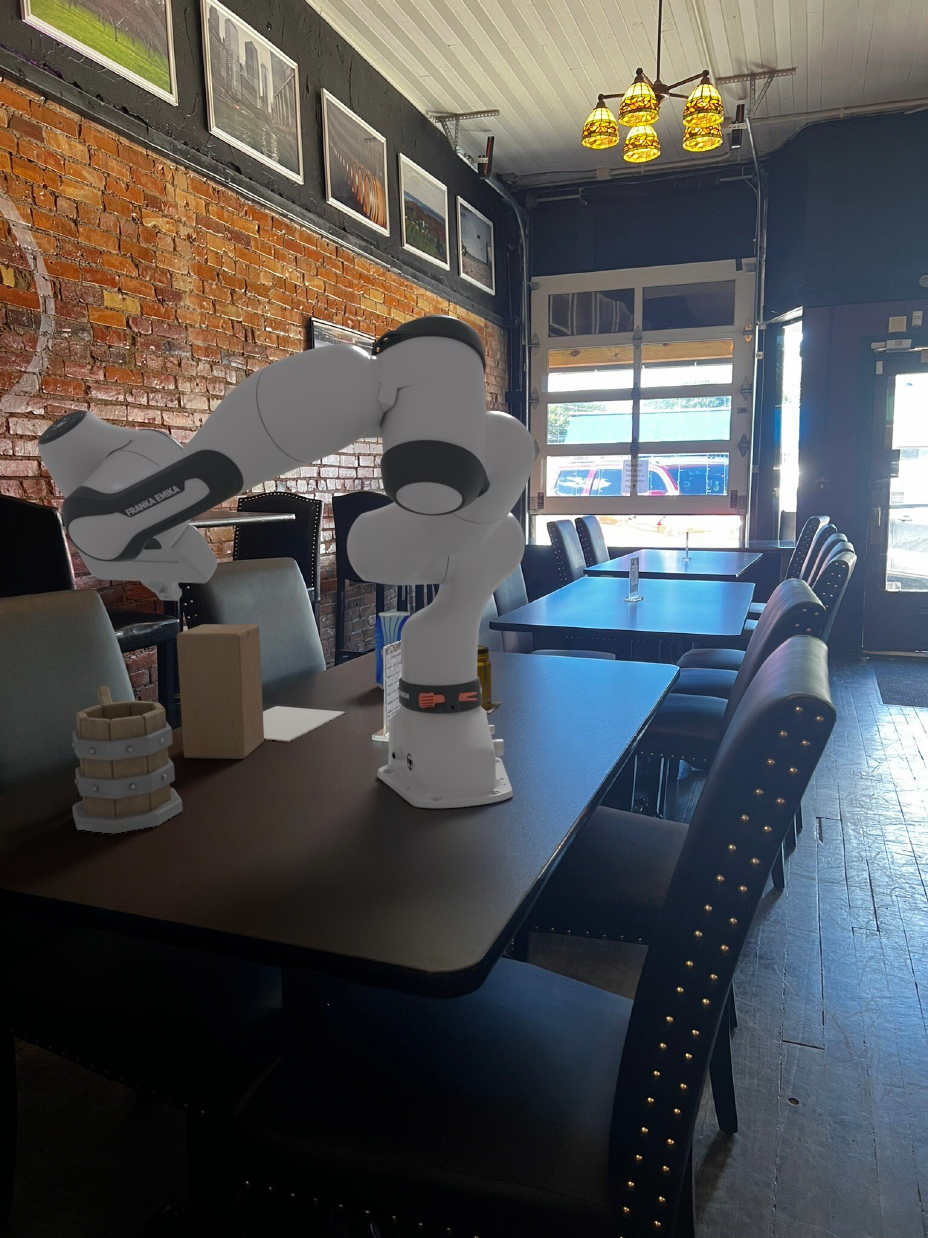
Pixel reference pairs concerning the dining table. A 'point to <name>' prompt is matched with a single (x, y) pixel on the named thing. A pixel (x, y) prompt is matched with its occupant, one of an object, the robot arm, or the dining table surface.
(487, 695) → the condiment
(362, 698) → the dining table surface
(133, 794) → the tankard
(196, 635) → the wooden block
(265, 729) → the mat
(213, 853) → the dining table surface
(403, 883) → the dining table surface
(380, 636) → the beer can
